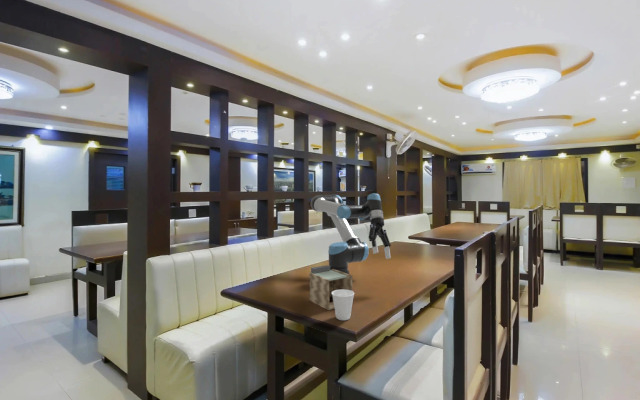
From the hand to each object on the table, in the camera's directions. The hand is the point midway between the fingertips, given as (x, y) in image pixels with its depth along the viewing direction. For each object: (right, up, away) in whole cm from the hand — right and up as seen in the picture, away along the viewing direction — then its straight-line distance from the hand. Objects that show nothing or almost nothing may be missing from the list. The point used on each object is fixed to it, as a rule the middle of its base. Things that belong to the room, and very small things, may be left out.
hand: (382, 255), depth 168 cm
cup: (-23, -22, -31) cm, 45 cm away
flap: (-29, -8, -10) cm, 32 cm away
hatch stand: (-28, -21, -12) cm, 37 cm away
